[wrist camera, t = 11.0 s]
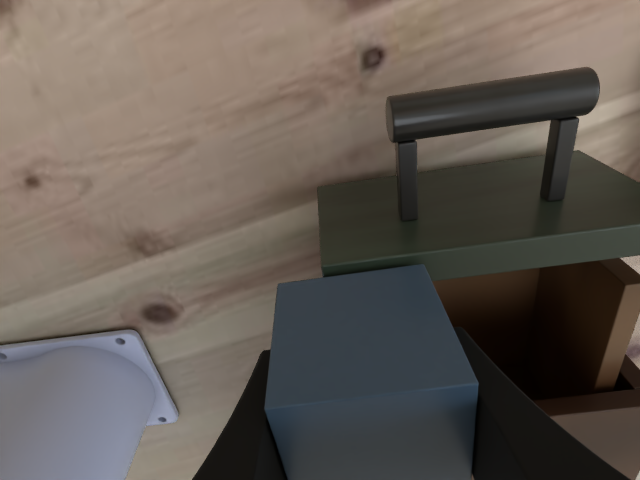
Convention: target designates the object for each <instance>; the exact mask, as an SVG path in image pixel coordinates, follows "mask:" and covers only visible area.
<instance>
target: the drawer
mask: <svg viewBox="0 0 640 480" xmlns="http://www.w3.org/2000/svg"><path fill="white" fill-rule="evenodd" d="M599 92H600V84H599V79H598V76H597V74H596V72H595V71H594V70H593V69H592V68H589V67H582V68H575V69H569V70H562V71H555V72H549V73H542V74H535V75H529V76H522V77H515V78H509V79H502V80H495V81H489V82H482V83H475V84H468V85H462V86H455V87H448V88H442V89H435V90H428V91H422V92H415V93H408V94H402V95H395V96H389V97H387V100H386V125H387V131H388V136H389V139H390V141H391V142H393V143H395V150H396V172H397V176H391V177H384V178H377V179H370V180H363V181H355V182H348V183H341V184H334V185H327V186H320V187H318V188H317V194H318V215H319V236H320V256H321V269H322V275H323V278H324V277H331V276H338V275H346V274H353V273H360V272H368V271H375V270H382V269H390V268H397V267H404V266H412V265H419V264H424V265H425V268H426V270H427V272H428V274H429V276H430V279H431V281H432V283H433V285H434V287H435V289H436V292H437V294H438V296H439V298H440V300H441V302H442V305H443V307H444V309H445V311H446V313H447V316H448V318H449V320H450V322H451V324H452V326H453V327H462V328H463V329H464V330H465V331H466V332H467V333H468V335H469V336H470V337H471V338H472V339H473V340H474V342H475V343H476V344H477V345H478V346H479V347H480V348H481V350H482V351H483V352H484V353H485V354H486V355H487V356H488V357H489V358H490V359H491V360H492V362H493V363H494V364H495V365H496V366H497V367H498V368H499V369H500V370H501V371H502V372H503V373H504V374H505V375H506V376H507V377H508V378H509V379H510V380H511V381H512V382H513V383H514V384H515V385H516V386H517V387H518V388H519V389H520V390H521V391H522V392H523V393H524V394H525V395H526V396H527V397H529V398H530V399H531V400H532V401H533V400H542V399H551V398H560V397H569V396H578V395H587V394H596V393H605V392H612V391H613V388H614V385H615V382H616V380H617V377H618V374H619V371H620V368H621V365H622V362H623V359H624V356H625V353H626V350H627V348H628V345H629V342H630V339H631V336H632V333H633V330H634V327H635V324H636V321H637V319H638V316H639V313H640V274H638V273H637V272H636V271H635V270H634V269H632V268H631V267H630V266H629V265H627V264H626V263H625V262H624V261H623V260H621V259H620V258H622V257H630V256H638V255H640V183H639V182H637V181H635V180H633V179H631V178H630V177H628V176H626V175H624V174H622V173H620V172H618V171H616V170H615V169H613V168H611V167H609V166H607V165H605V164H603V163H602V162H600V161H598V160H596V159H594V158H592V157H590V156H589V155H587V154H585V153H583V152H581V151H579V150H577V151H573V149H574V144H575V139H576V133H577V128H578V122H579V119H578V118H577V117H576V116H583V115H586V114H588V113H590V112H591V111H592V110H593V109H594V107H595V105H596V103H597V101H598V98H599ZM548 120H551V123H550V129H549V136H548V143H547V149H546V155H542V156H534V157H527V158H520V159H513V160H506V161H499V162H491V163H484V164H477V165H470V166H463V167H456V168H448V169H441V170H434V171H427V172H420V173H417V142H416V139H423V138H430V137H437V136H444V135H451V134H458V133H465V132H472V131H479V130H486V129H493V128H500V127H507V126H514V125H520V124H527V123H534V122H541V121H548Z"/></svg>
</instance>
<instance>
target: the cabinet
mask: <svg viewBox="0 0 640 480" xmlns="http://www.w3.org/2000/svg"><path fill="white" fill-rule="evenodd" d="M533 402H534V403H535V404H536V405H537V406H538V407H539V408H541V409H542V410H543V411H544V412H545V413H546V414H547V415H548V416H550V417H551V418H552V419H553V420H554V421H555V422H556V423H558V424H559V425H560V426H561V427H562V428H564V429H565V430H566V431H567V432H568V433H570V434H571V435H572V436H573V437H575V438H576V439H577V440H578V441H580V442H581V443H582V444H583V445H585V446H586V447H587V448H588V449H590V450H591V451H592V452H594V453H595V454H596V455H598V456H599V457H600V458H602V459H603V460H604V461H605V462H607V463H608V464H609V465H611V466H612V467H614V468H615V469H616V470H618V471H619V472H621V473H622V474H624V475H625V476H627V477H628V478H629V479H631V480H635V479H636V477H637V475H638V473H639V471H640V369H639V368H638V367H637V366H636V365H635V364H634V363H633V362H632V361H631V359H630V358H629V357H628V356H627V355H626V354H625V356H624V359H623V362H622V365H621V368H620V371H619V374H618V377H617V380H616V382H615V385H614V388H613V391H612V392H605V393H596V394H587V395H578V396H569V397H560V398H551V399H542V400H533ZM471 480H474V477H473V475H472V476H471Z"/></svg>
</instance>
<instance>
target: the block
mask: <svg viewBox="0 0 640 480" xmlns="http://www.w3.org/2000/svg"><path fill="white" fill-rule="evenodd" d="M478 384H479V383H478V381H477V379H476V377H475V374H474V372H473V370H472V368H471V366H470V363H469V361H468V359H467V357H466V355H465V353H464V350H463V348H462V346H461V344H460V342H459V340H458V337H457V335H456V333H455V331H454V329H453V326H452V324H451V322H450V320H449V318H448V316H447V313H446V311H445V309H444V307H443V305H442V302H441V300H440V298H439V296H438V294H437V292H436V289H435V287H434V285H433V283H432V281H431V279H430V276H429V274H428V272H427V270H426V268H425V265H424V264H419V265H412V266H404V267H397V268H390V269H382V270H375V271H368V272H360V273H353V274H346V275H338V276H331V277H324V278H316V279H309V280H301V281H294V282H287V283H279V284H278V286H277V295H276V305H275V314H274V323H273V333H272V342H271V351H270V361H269V370H268V380H267V389H266V398H265V408H264V409H265V413H266V416H267V419H268V422H269V425H270V428H271V431H272V434H273V437H274V440H275V443H276V446H277V449H278V452H279V455H280V458H281V461H282V464H283V467H284V470H285V473H286V476H287V479H288V480H471V476H472V463H473V450H474V437H475V424H476V410H477V397H478Z"/></svg>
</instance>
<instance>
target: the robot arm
mask: <svg viewBox="0 0 640 480" xmlns="http://www.w3.org/2000/svg"><path fill="white" fill-rule="evenodd" d="M453 329H454V331H455V333H456V335H457V337H458V340H459V342H460V344H461V346H462V348H463V350H464V353H465V355H466V357H467V359H468V361H469V363H470V366H471V368H472V370H473V372H474V374H475V377H476V379H477V381H478V383H479V384H478V397H477V410H476V424H475V437H474V450H473V463H472V475H473V477H474V480H631V479H629V478H628V477H627V476H625V475H624V474H622V473H621V472H619V471H618V470H616V469H615V468H614V467H612V466H611V465H609V464H608V463H607V462H605V461H604V460H603V459H602V458H600V457H599V456H598V455H596V454H595V453H594V452H592V451H591V450H590V449H588V448H587V447H586V446H585V445H583V444H582V443H581V442H580V441H578V440H577V439H576V438H575V437H573V436H572V435H571V434H570V433H568V432H567V431H566V430H565V429H564V428H562V427H561V426H560V425H559V424H558V423H556V422H555V421H554V420H553V419H552V418H551V417H550V416H548V415H547V414H546V413H545V412H544V411H543V410H542V409H541V408H539V407H538V406H537V405H536V404H535V403H534V402H533V401H532V400H531V399H530V398H529V397H527V396H526V395H525V394H524V393H523V392H522V391H521V390H520V389H519V388H518V387H517V386H516V385H515V384H514V383H513V382H512V381H511V380H510V379H509V378H508V377H507V376H506V375H505V374H504V373H503V372H502V371H501V370H500V369H499V368H498V367H497V366H496V365H495V364H494V363H493V362H492V360H491V359H490V358H489V357H488V356H487V355H486V354H485V353H484V352H483V351H482V350H481V348H480V347H479V346H478V345H477V344H476V343H475V342H474V340H473V339H472V338H471V337H470V336H469V335H468V333H467V332H466V331H465V330H464V329H463V328H462V327H453ZM120 338H122V339H123V340H122V339H120ZM270 351H271V350H264V351H263V352H262V353H261V354H260V356H259V359H258V361H257V363H256V366H255V368H254V370H253V373H252V375H251V377H250V379H249V381H248V383H247V386H246V388H245V390H244V392H243V394H242V396H241V398H240V400H239V402H238V404H237V406H236V407H235V409H234V411H233V413H232V415H231V417H230V419H229V421H228V423H227V424H226V426H225V428H224V429H223V431H222V433H221V435H220V436H219V438H218V440H217V441H216V443H215V445H214V447H213V448H212V450H211V451H210V453H209V455H208V456H207V458H206V459H205V461H204V463H203V464H202V466H201V467H200V469H199V470H198V472H197V473H196V475H195V476H194V477H193V479H192V480H288V479H287V476H286V473H285V470H284V467H283V464H282V461H281V458H280V455H279V452H278V449H277V446H276V443H275V440H274V437H273V434H272V431H271V428H270V425H269V422H268V419H267V416H266V413H265V409H264V408H265V398H266V389H267V380H268V370H269V361H270ZM178 416H179V414H178V411H177V409H176V407H175V405H174V403H173V401H172V399H171V397H170V395H169V393H168V391H167V389H166V387H165V385H164V383H163V381H162V379H161V377H160V375H159V373H158V371H157V369H156V367H155V365H154V363H153V361H152V359H151V357H150V355H149V353H148V351H147V349H146V347H145V345H144V343H143V341H142V339H141V337H140V335H139V334H138V332H136V331H134V330H120V331H112V332H104V333H96V334H88V335H80V336H72V337H64V338H56V339H48V340H40V341H32V342H24V343H16V344H8V345H0V480H125V478H126V476H127V473H128V470H129V468H130V465H131V463H132V460H133V457H134V455H135V452H136V450H137V447H138V444H139V442H140V439H141V437H142V434H143V432H144V429H145V426H150V425H159V424H168V423H174V422H176V421H177V419H178Z"/></svg>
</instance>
